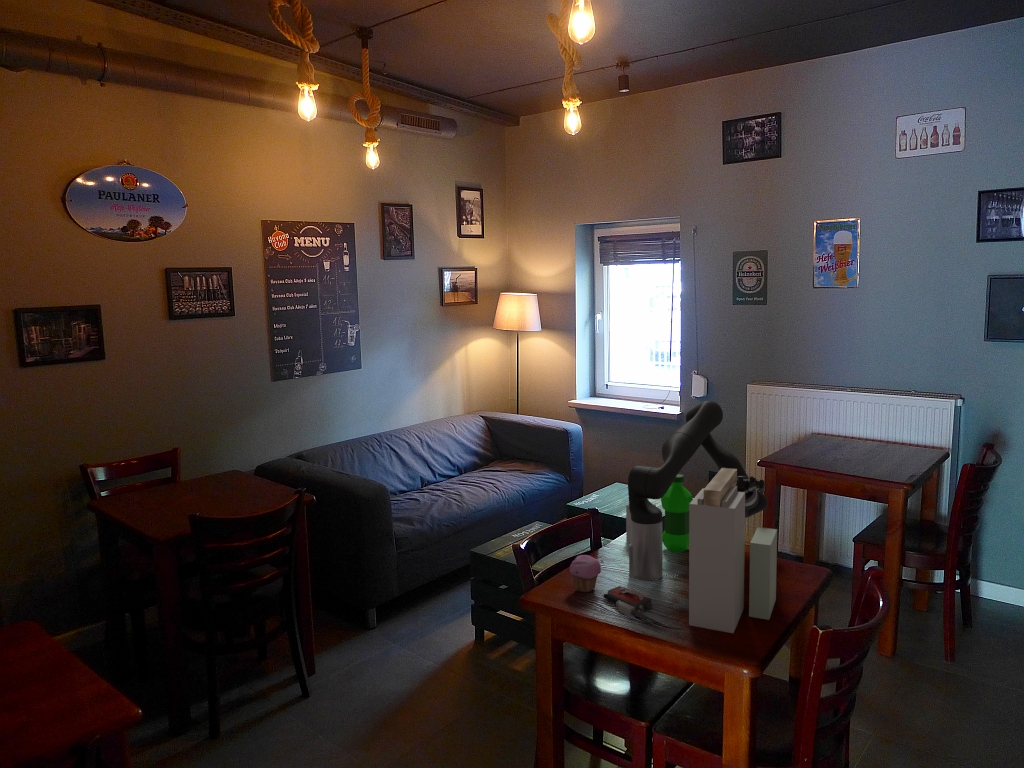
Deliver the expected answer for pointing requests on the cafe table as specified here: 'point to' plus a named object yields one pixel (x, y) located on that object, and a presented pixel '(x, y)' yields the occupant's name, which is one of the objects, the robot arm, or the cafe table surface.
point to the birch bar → (719, 486)
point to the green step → (762, 573)
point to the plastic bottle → (676, 516)
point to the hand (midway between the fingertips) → (735, 478)
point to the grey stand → (716, 562)
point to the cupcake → (585, 572)
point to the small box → (628, 524)
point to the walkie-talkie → (630, 601)
